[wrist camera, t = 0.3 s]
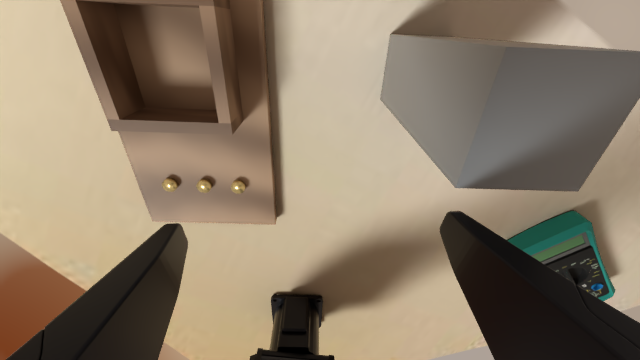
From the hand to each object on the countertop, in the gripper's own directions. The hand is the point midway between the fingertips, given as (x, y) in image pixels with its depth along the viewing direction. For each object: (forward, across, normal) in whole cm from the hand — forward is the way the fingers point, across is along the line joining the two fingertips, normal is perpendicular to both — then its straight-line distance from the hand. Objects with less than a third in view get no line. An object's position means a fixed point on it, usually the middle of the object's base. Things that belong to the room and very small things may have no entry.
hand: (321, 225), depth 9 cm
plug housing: (+14, -8, -2) cm, 16 cm away
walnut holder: (+15, +8, +3) cm, 17 cm away
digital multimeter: (+10, -29, +18) cm, 36 cm away
